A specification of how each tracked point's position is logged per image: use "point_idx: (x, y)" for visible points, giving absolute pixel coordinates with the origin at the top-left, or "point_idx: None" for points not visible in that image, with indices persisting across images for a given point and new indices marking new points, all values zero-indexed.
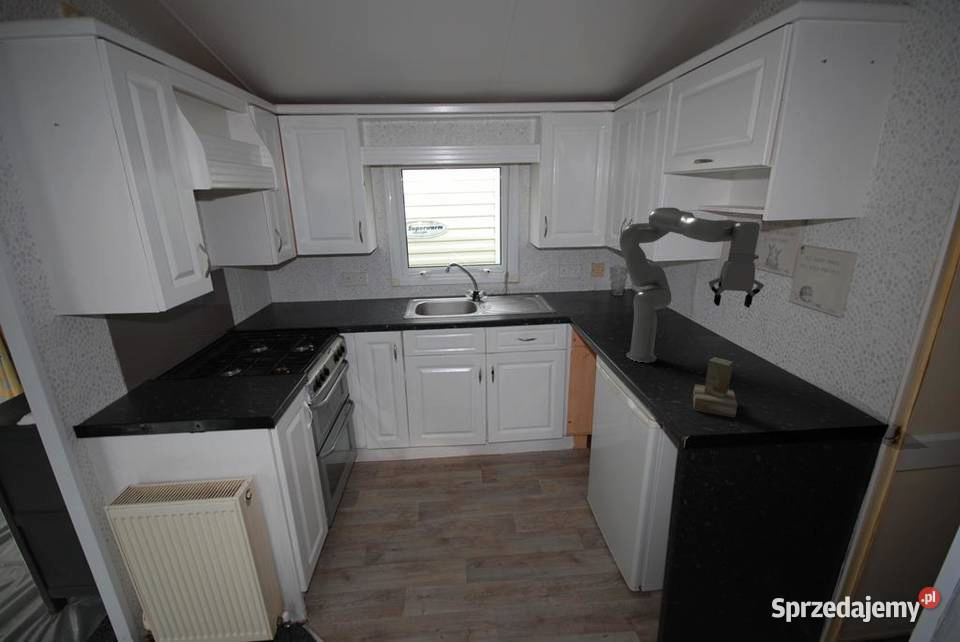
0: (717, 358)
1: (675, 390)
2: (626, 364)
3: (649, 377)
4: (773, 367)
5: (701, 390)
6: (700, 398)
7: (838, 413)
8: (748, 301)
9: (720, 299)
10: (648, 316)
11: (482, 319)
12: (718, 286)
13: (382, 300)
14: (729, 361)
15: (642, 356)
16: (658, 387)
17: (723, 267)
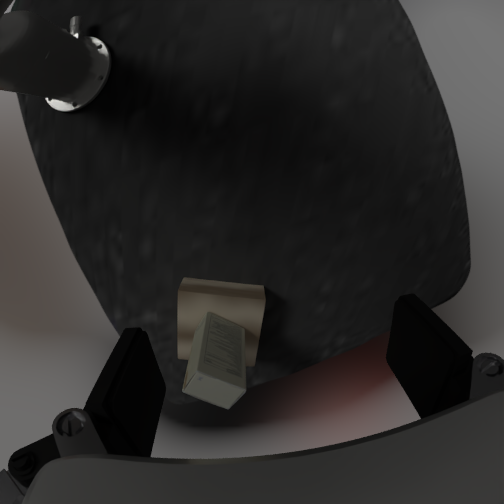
0: (204, 381)
1: (146, 263)
2: (44, 139)
3: (90, 204)
4: (414, 44)
5: (190, 322)
6: (186, 358)
7: (439, 267)
8: (407, 394)
9: (154, 431)
10: None
11: None
12: (55, 467)
13: None
14: (235, 391)
15: (67, 99)
16: (112, 258)
17: None
